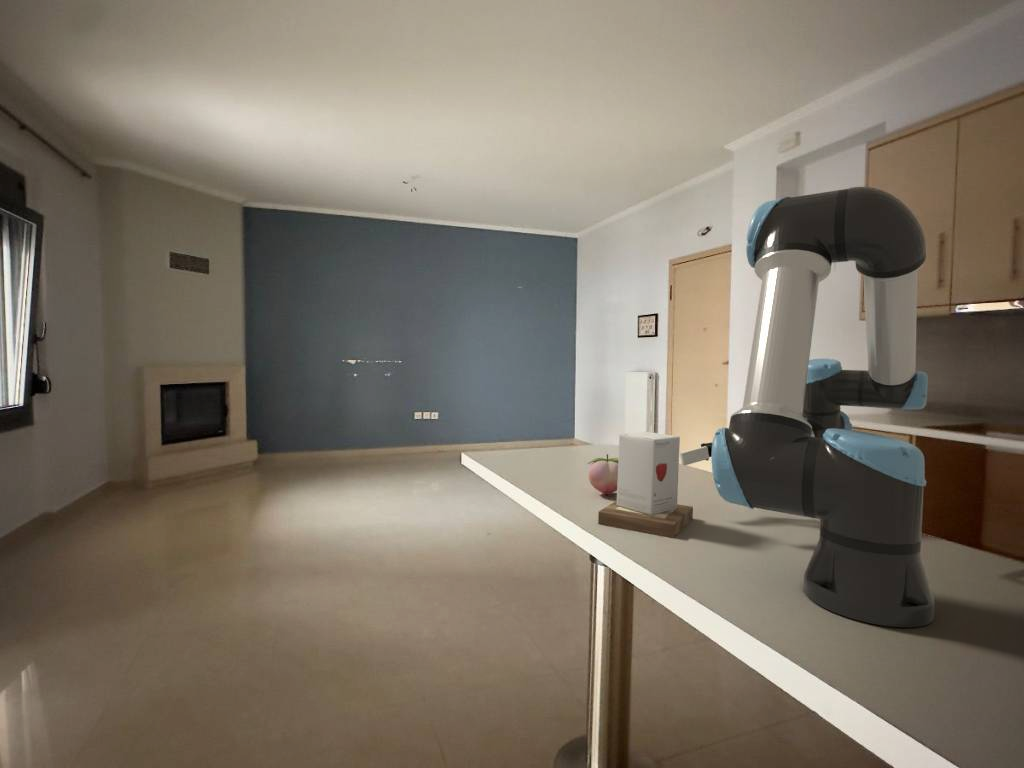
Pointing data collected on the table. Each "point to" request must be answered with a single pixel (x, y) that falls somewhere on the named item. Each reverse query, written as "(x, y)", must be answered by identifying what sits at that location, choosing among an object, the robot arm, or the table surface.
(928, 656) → the table surface
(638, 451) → the supplement box
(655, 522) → the block
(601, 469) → the decorative fruit
